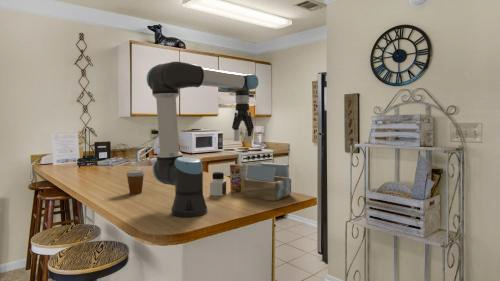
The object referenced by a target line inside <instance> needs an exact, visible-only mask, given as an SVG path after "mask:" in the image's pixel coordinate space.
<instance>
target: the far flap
mask: <svg viewBox="0 0 500 281" xmlns="http://www.w3.org/2000/svg"><path fill="white" fill-rule="evenodd" d="M260 166H265V167H275V176H274V177H282V178H289V177H290V175H289V174H290V173H289V168H288V164H287V163H275V162H261V163H260Z"/></svg>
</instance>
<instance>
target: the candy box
mask: <svg viewBox="0 0 500 281" xmlns="http://www.w3.org/2000/svg"><path fill="white" fill-rule="evenodd" d="M246 166H247V165H244V164H236V163H232V164H229V180H230V182H229V183H230V186H229V188H230V189H229V190H230V192H234V193H237V194H245V179H247V178H246V175H247V170H246V169H247V167H246Z"/></svg>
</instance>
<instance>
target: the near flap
mask: <svg viewBox="0 0 500 281" xmlns="http://www.w3.org/2000/svg"><path fill="white" fill-rule="evenodd" d="M246 169H247V170H246V179H255V180H263V181H272V182H274V177H276V176H275V167H265V166H261V165H251V164H248V165H247V168H246Z"/></svg>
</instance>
